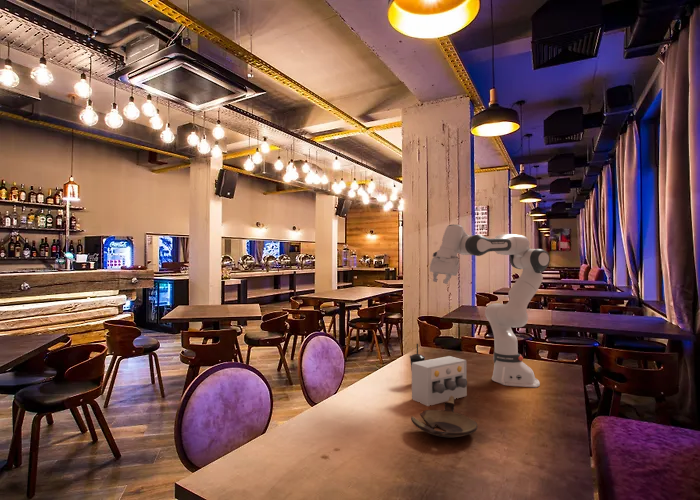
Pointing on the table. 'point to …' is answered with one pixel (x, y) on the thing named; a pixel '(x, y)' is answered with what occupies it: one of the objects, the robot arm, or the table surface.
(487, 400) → the table surface
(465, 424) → the oil lamp
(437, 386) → the button
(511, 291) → the robot arm
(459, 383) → the button
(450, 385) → the button
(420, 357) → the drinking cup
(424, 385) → the console
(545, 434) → the table surface
